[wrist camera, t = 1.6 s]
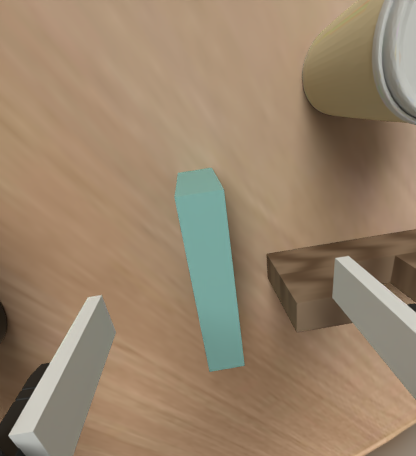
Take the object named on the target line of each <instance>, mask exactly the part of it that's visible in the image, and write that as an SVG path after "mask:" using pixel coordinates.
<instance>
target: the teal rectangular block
mask: <svg viewBox="0 0 416 456" xmlns="http://www.w3.org/2000/svg"><path fill="white" fill-rule="evenodd" d="M175 202H176V207H177V212H178V217H179V222H180V227H181V232H182V237H183V242H184V247H185V252H186V257H187V262H188V267H189V272H190V277H191V282H192V287H193V292H194V297H195V301H196V306H197V311H198V316H199V321H200V326H201V331H202V336H203V341H204V346H205V351H206V356H207V361H208V366H209V371H210V372H211V371H217V370H223V369H229V368H234V367H240V366H245V365H244V357H243V348H242V340H241V331H240V323H239V314H238V306H237V297H236V289H235V280H234V272H233V263H232V255H231V246H230V238H229V229H228V221H227V212H226V204H225V195H224V189H223V187H222V185H221V184H220V182H219V180H218V178H217V176H216V175H215V173H214V171H213V169H212V168H207V169H201V170H195V171H188V172H182V173H178V177H177V184H176V191H175Z"/></svg>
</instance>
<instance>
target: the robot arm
mask: <svg viewBox="0 0 416 456" xmlns="http://www.w3.org/2000/svg"><path fill="white" fill-rule="evenodd" d="M332 298H333V299H334V300H335V302H336V303H337V304H338V305H339V306H340V308H341V309H342V310H343V311H344V313H345V314H346V315H347V316H348V317H349V319H350V320H351V321H352V322H353V324H354V325H355V326H356V327H357V328H358V330H359V331H360V332H361V333H362V335H363V336H364V337H365V338H366V340H367V341H368V342H369V343H370V344H371V346H372V347H373V348H374V349H375V351H376V352H377V353H378V354H379V355H380V357H381V358H382V359H383V360H384V362H385V363H386V364H387V365H388V367H389V368H390V369H391V370H392V371H393V373H394V374H395V375H396V376H397V378H398V379H399V380H400V381H401V382H402V384H403V385H404V386H405V387H406V389H407V390H408V391H409V392H410V394H411V395H412V396H413V397H414V398H415V400H416V304H415V303H414V304H408V305H406V304H405V303H404V302H403V301H402V300H400V299H399V298H398V297H397V296H396V295H394V294H393V293H392V292H391V291H390V290H389V289H387V288H386V287H385V286H384V285H383V284H381V283H380V282H379V281H378V280H377V279H375V278H374V277H373V276H372V275H371V274H369V273H368V272H367V271H366V270H365V269H364V268H362V267H361V266H360V265H359V264H358V263H356V262H355V261H354V260H353V259H352V258H350V257H349V256H345V257H339V258H335V266H334V280H333V294H332ZM6 329H7V321H6V316H5V313H4V310H3V308H2V306H1V304H0V343H1V342H2V340H3V339H4V336H5V334H6ZM115 333H116V331H115V329H114V326H113V323H112V321H111V318H110V315H109V313H108V310H107V308H106V305H105V302H104V300H103V297H102V295H100V296H93V297H88V298H87V300H86V302H85V303H84V305H83V307H82V309H81V310H80V312H79V314H78V316H77V317H76V319H75V321H74V322H73V324H72V326H71V328H70V329H69V331H68V333H67V335H66V336H65V338H64V340H63V342H62V343H61V345H60V347H59V348H58V350H57V352H56V354H55V355H54V357H53V359H52V361H51V362H50V363H46V364H41V365H40V366H39V367H38V368H37V369H36V370H35V371H34V372H33V374H32V375H31V376H30V377H29V379H28V380H27V382H26V383H25V385H24V387H23V388H22V391H20V393H19V395H18V396H17V398H16V401H15V402H14V403H13V404H12V406H11V407H10V409H9V410H8V412H7V414H6V415H5V417H4V418H3V420H2V422H1V423H0V456H73V454H74V451H75V448H76V445H77V443H78V440H79V437H80V434H81V431H82V428H83V425H84V422H85V420H86V417H87V414H88V411H89V408H90V405H91V402H92V399H93V397H94V394H95V391H96V388H97V385H98V382H99V379H100V377H101V374H102V371H103V368H104V365H105V362H106V359H107V356H108V354H109V351H110V348H111V345H112V342H113V339H114V336H115Z"/></svg>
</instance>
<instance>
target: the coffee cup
mask: <svg viewBox="0 0 416 456" xmlns="http://www.w3.org/2000/svg"><path fill="white" fill-rule="evenodd" d="M302 81H303V87H304V91H305V94H306V96H307V98H308V100H309V102H310V103H311V104H312V106H313V107H314V108H316V109H317V110H318V111H320V112H322V113H324V114H328V115H332V116H339V117H349V118H359V119H369V120H380V121H391V122H404V123H410V124H414V125H416V0H357V1H356V2H355V3H354V4H353V5H352V6H350V7H349V8H348V9H347V10H346V11H345V12H343V13H342V14H341V15H340V16H339V17H338V18H336V19H335V20H334V21H333V22H332V23H331V24H330V25H329V26H327V27H326V28H325V29H324V30H323V31H322V32H321V33H320V34H319V35H318V36H317V38H316V39H315V40H314V42H313V43H312V45H311V47H310V48H309V50H308V53H307V55H306V58H305V61H304V65H303V72H302Z"/></svg>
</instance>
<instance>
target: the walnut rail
mask: <svg viewBox="0 0 416 456" xmlns="http://www.w3.org/2000/svg"><path fill="white" fill-rule="evenodd" d="M345 256H349V257H350V258H352V259H353V260H354V261H355V262H356V263H358V264H359V265H360V266H361V267H362V268H364V269H365V270H366V271H367V272H368V273H369V274H371V275H372V276H373V277H374V278H375V279H377V280H378V281H379V282H380V283H381V284H384V283H391V284H393V285H394V286H395V287H397V288H398V289H399V290H400V291H402V292H403V293H404V294H405V295H407V296H408V297H409V298H411V299H412V300H413V301H414V302H416V229H415V230H409V231H403V232H397V233H391V234H384V235H378V236H372V237H366V238H360V239H354V240H348V241H342V242H336V243H330V244H324V245H318V246H312V247H306V248H300V249H294V250H288V251H282V252H275V253H269V254H267V270H268V279H269V281H270V283H271V285H272V286H273V288H274V290H275V292H276V294H277V296H278V298H279V300H280V302H281V304H282V305H283V307H284V309H285V311H286V313H287V315H288V317H289V319H290V321H291V323H292V324H293V326H294V328H295V330H296V332H303V331H309V330H315V329H320V328H326V327H332V326H338V325H344V324H349V323H353V322H352V321H351V320H350V319H349V317H348V316H347V315H346V314H345V313H344V311H343V310H342V309H341V308H340V306H339V305H338V304H337V303H336V302H335V300H334V299H333V298H332V294H333V280H334V266H335V258H339V257H345Z"/></svg>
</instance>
